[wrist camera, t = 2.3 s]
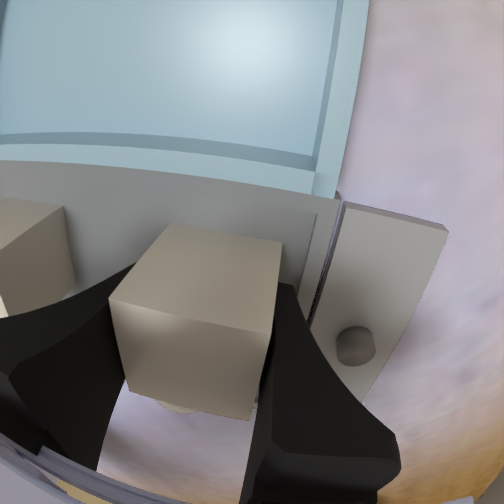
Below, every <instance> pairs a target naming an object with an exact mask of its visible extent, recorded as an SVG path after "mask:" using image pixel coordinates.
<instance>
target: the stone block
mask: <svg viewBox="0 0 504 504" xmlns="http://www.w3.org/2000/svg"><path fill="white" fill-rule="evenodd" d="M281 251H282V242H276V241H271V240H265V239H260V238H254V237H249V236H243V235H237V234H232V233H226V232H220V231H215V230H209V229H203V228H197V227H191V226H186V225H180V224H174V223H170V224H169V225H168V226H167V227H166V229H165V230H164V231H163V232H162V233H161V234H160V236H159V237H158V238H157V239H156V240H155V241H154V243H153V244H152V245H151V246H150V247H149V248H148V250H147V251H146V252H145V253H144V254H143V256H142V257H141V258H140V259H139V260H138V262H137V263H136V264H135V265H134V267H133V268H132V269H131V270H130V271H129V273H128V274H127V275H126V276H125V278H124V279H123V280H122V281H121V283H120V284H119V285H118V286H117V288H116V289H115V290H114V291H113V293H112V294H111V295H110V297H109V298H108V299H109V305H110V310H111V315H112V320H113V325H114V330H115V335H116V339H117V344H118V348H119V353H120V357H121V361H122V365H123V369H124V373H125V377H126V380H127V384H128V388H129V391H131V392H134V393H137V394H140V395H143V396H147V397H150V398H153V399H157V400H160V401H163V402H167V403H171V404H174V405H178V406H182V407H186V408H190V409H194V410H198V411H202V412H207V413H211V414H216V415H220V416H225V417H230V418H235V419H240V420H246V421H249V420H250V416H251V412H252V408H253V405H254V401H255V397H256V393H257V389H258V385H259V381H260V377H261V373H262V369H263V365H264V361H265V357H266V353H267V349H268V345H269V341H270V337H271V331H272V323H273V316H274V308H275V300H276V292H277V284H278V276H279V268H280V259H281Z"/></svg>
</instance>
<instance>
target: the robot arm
mask: <svg viewBox="0 0 504 504" xmlns="http://www.w3.org/2000/svg"><path fill="white" fill-rule="evenodd" d="M137 262H138V261H137ZM137 262H135V263H134V264H132V265H130V266H128V267H126V268H125V269H123V270H121V271H119V272H118V273H116V274H114V275H112V276H111V277H109V278H107V279H105V280H104V281H102V282H100V283H98V284H96V285H94V286H92V287H90V288H88V289H86V290H84V291H82V292H80V293H78V294H76V295H74V296H71V297H69V298H67V299H64V300H62V301H59V302H57V303H54V304H51V305H48V306H45V307H42V308H39V309H36V310H33V311H29V312H26V313H22V314H18V315H13V316H8V317H3V318H0V504H85V503H83V502H81V501H79V500H77V499H75V498H73V497H71V496H69V495H68V494H67V492H66V491H64V490H63V489H61V488H60V487H58V486H57V485H56V484H55V483H56V482H58V481H59V480H60V479H61V480H63V481H65V482H67V483H69V484H71V485H73V486H75V487H77V488H79V489H81V490H83V491H85V492H87V493H89V494H91V495H94V496H96V497H98V498H101V499H103V500H105V501H108V502H110V503H113V504H190V503H186V502H182V501H178V500H175V499H171V498H167V497H164V496H161V495H157V494H154V493H151V492H148V491H145V490H142V489H139V488H136V487H133V486H130V485H128V484H125V483H122V482H120V481H117V480H115V479H112V478H110V477H107V476H105V475H102V474H100V473H98V472H96V470H97V465H98V461H99V457H100V453H101V448H102V444H103V441H104V437H105V434H106V431H107V427H108V424H109V421H110V418H111V415H112V412H113V409H114V406H115V404H116V401H117V398H118V396H119V393H120V391H121V388H122V386H123V383H124V381H125V379H126V377H125V373H124V369H123V365H122V361H121V357H120V353H119V348H118V344H117V339H116V335H115V330H114V325H113V320H112V315H111V310H110V305H109V299H108V298H109V297H110V295H111V294H112V293H113V291H114V290H115V289H116V288H117V286H118V285H119V284H120V283H121V281H122V280H123V279H124V278H125V276H126V275H127V274H128V273H129V271H130V270H131V269H132V268H133V267H134V265H135V264H136V263H137ZM400 470H401V460H400V453H399V448H398V444H397V441H396V437H395V434H394V433H393V432H392V431H391V430H390V429H388V428H387V427H386V426H385V425H384V424H383V423H381V422H380V421H379V420H378V419H377V418H376V417H375V416H373V415H372V414H371V413H370V412H369V411H368V410H367V409H366V408H365V407H364V406H363V405H362V404H361V403H360V402H359V401H358V400H357V399H356V397H355V396H354V395H353V394H352V393H351V391H350V390H349V389H348V388H347V387H346V386H345V384H344V383H343V382H342V381H341V379H340V378H339V377H338V375H337V374H336V373H335V371H334V370H333V368H332V367H331V365H330V364H329V362H328V361H327V359H326V358H325V356H324V354H323V353H322V351H321V349H320V347H319V346H318V344H317V342H316V340H315V338H314V336H313V334H312V332H311V330H310V328H309V326H308V324H307V321H306V319H305V317H304V314H303V312H302V309H301V307H300V304H299V301H298V298H297V295H296V291H295V288H294V286H293V285H291V284H286V283H280V282H278V284H277V292H276V300H275V308H274V316H273V323H272V331H271V337H270V341H269V345H268V349H267V353H266V357H265V361H264V365H263V369H262V373H261V377H260V381H259V394H258V406H257V414H256V420H255V425H254V431H253V436H252V442H251V447H250V452H249V457H248V463H247V468H246V472H245V477H244V482H243V487H242V492H241V496H240V501H239V504H376V503H377V491H378V490H379V489H381V488H382V487H384V486H385V485H386V484H388V483H389V482H391V481H392V480H393V479H394V478H395V477H396V476H397V475H398V474H399V473H400ZM441 504H474V501H473V497H472V496H469V497H465V498H461V499H457V500H452V501H448V502H444V503H441Z"/></svg>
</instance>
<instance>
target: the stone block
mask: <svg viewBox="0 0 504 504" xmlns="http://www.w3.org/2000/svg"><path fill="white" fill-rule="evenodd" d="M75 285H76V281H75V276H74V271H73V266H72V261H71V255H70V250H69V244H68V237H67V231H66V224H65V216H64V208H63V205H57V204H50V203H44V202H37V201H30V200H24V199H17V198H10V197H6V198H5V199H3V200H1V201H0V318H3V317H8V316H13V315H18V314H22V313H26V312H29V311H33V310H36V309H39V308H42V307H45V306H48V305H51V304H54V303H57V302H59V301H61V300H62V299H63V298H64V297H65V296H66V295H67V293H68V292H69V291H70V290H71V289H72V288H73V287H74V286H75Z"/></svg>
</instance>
